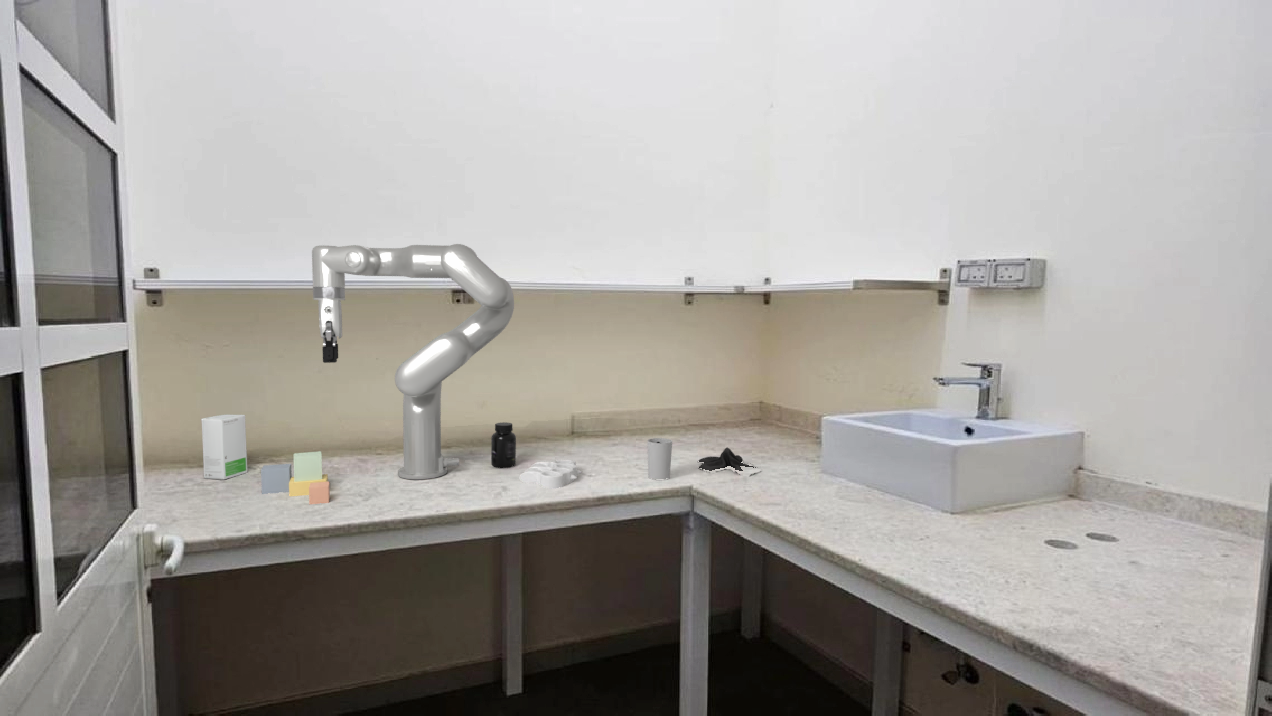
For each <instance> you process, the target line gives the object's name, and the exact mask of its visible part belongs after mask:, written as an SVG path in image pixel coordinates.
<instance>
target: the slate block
mask: <svg viewBox="0 0 1272 716" xmlns="http://www.w3.org/2000/svg"><path fill="white" fill-rule="evenodd" d="M292 475H293V474H292V463H282V464H269V465H267V464H264V465H263V466H262V467H261V469H260V477H261V478H260V479H261V481H260V482H261V495H269V494H268V493H270V494H280V493H279V492H283V493H289V482H290V479H291V477H293V476H292Z"/></svg>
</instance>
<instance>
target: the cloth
mask: <svg viewBox="0 0 1272 716" xmlns="http://www.w3.org/2000/svg"><path fill="white" fill-rule="evenodd" d="M698 461H699V462H704V464H703V463H701V464H700V465H699V466H698V467H699V468H702V469H705V470H709V471H712V470H715V469H720V468H725V467H727V466H731V467H733V468H735V470H739V471H743V470H742V469H741V467H740V466H745V467H753V468H754V467H755V468H756V467H757V466H754V465H753V466H749V465H747V464H745V463H744V460H743V458H742V456H740V455H739V454H735V453H734V452H733V451H732V450H731V448H729V447H726V448H724V450H723V451H722V452H721V453H720V455H719V456H706V457H702V458H699V460H698ZM742 461H743V463H744V464H743V463H741V462H742ZM699 462H698V463H699ZM699 468H698V469H699Z"/></svg>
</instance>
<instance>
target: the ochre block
mask: <svg viewBox="0 0 1272 716" xmlns="http://www.w3.org/2000/svg"><path fill="white" fill-rule="evenodd" d="M328 475H329V474H328V473H324V474H323V473H322V479H320V480H309V481H299V482H294V476H292V477H291V479H290V482H289V492H288V493H289V494H288V495H289V496H290V497H298V496H299V497H300V496H309V486H310V483H316V482H329V476H328Z"/></svg>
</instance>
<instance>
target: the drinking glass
mask: <svg viewBox="0 0 1272 716" xmlns="http://www.w3.org/2000/svg"><path fill="white" fill-rule="evenodd" d="M672 450H673V440H672V439H669V438H662V437H654V438H649V439H647V472H648V473H647V474H648V475H647V476H648V479H650V478H652V479H651V480H653V479H666V478H669V477H670V478H671V465H672V464H671V463H672ZM670 478H669V479H670Z"/></svg>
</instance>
